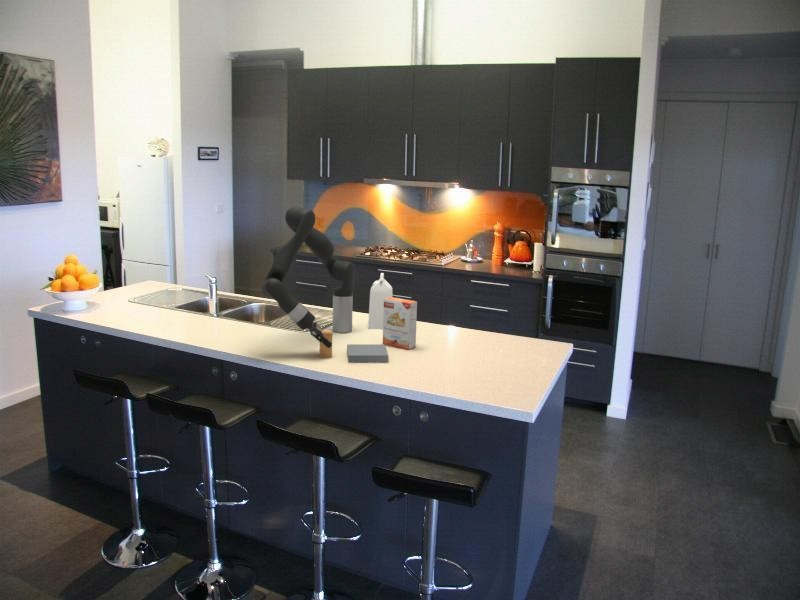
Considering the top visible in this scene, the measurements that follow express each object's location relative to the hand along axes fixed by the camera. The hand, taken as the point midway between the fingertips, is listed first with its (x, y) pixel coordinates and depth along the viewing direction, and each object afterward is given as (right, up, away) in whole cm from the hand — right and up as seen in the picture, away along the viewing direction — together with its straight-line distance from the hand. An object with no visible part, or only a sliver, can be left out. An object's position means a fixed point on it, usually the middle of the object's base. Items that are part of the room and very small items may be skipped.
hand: (330, 344), depth 277 cm
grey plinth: (+15, -5, +1) cm, 16 cm away
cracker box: (+28, -2, +18) cm, 34 cm away
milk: (+19, +5, +52) cm, 55 cm away
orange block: (-2, -5, +1) cm, 5 cm away
